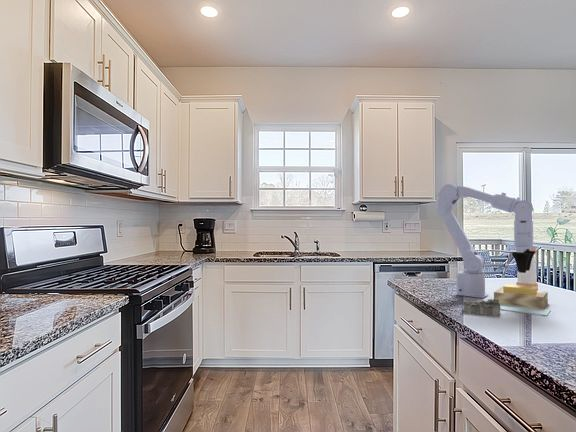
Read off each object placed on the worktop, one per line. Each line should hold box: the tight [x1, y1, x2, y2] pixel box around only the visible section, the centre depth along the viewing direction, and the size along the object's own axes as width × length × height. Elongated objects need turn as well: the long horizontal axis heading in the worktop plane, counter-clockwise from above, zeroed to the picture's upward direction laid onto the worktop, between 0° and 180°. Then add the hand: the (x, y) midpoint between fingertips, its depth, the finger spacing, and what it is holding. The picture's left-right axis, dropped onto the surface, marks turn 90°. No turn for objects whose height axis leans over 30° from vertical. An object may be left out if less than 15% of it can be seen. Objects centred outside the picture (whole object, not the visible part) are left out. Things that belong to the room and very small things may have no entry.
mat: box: [500, 304, 551, 317], centre depth 119 cm, size 18×8×1 cm, turn 49°
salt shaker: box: [515, 248, 539, 291], centre depth 149 cm, size 7×7×19 cm
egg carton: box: [462, 298, 501, 316], centre depth 117 cm, size 11×8×4 cm
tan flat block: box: [493, 286, 549, 309], centre depth 127 cm, size 14×12×4 cm
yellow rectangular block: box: [502, 283, 537, 295], centre depth 127 cm, size 9×6×2 cm, turn 49°
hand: (524, 271), depth 133 cm, fingers open, 7 cm apart
